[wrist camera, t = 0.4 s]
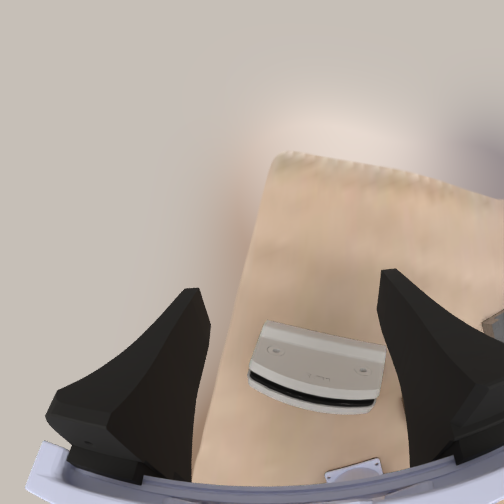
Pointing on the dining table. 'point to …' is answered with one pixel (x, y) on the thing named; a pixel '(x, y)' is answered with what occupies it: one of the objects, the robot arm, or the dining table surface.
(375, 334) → the dining table surface
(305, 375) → the hinge
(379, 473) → the robot arm
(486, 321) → the v block
